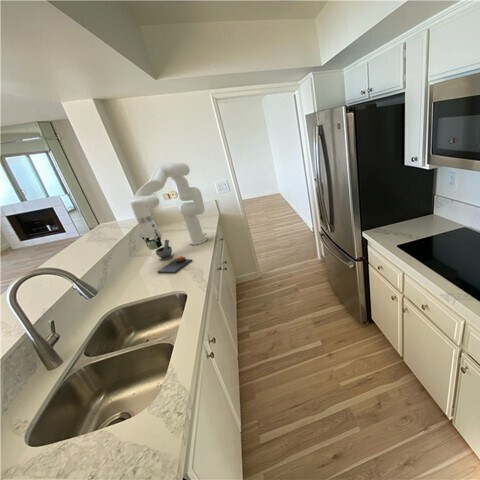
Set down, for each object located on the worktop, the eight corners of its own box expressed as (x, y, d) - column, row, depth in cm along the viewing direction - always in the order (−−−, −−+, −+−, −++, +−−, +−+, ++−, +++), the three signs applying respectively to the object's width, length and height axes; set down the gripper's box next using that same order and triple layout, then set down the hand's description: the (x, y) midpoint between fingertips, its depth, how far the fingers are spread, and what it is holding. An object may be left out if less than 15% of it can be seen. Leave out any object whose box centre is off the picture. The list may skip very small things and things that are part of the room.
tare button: (180, 258, 176) (179, 256, 175) (183, 258, 175) (182, 255, 175) (176, 260, 173) (176, 258, 173) (180, 260, 173) (179, 258, 172)
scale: (176, 260, 180) (175, 256, 178) (192, 260, 176) (191, 256, 175) (158, 273, 165) (156, 269, 164) (175, 273, 162) (173, 269, 161)
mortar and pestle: (166, 261, 180) (160, 245, 175) (155, 261, 183) (149, 245, 178) (178, 254, 190) (173, 238, 185) (168, 253, 193) (162, 238, 188)
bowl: (155, 245, 169) (152, 238, 167) (164, 245, 167) (161, 238, 165) (146, 250, 163) (143, 242, 161) (155, 250, 161) (152, 242, 159)
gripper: (161, 217, 159) (171, 243, 166) (138, 217, 163) (148, 243, 170) (151, 221, 152) (161, 249, 159) (127, 222, 157) (139, 249, 164)
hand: (155, 246), depth 165 cm, fingers closed on bowl, 6 cm apart
